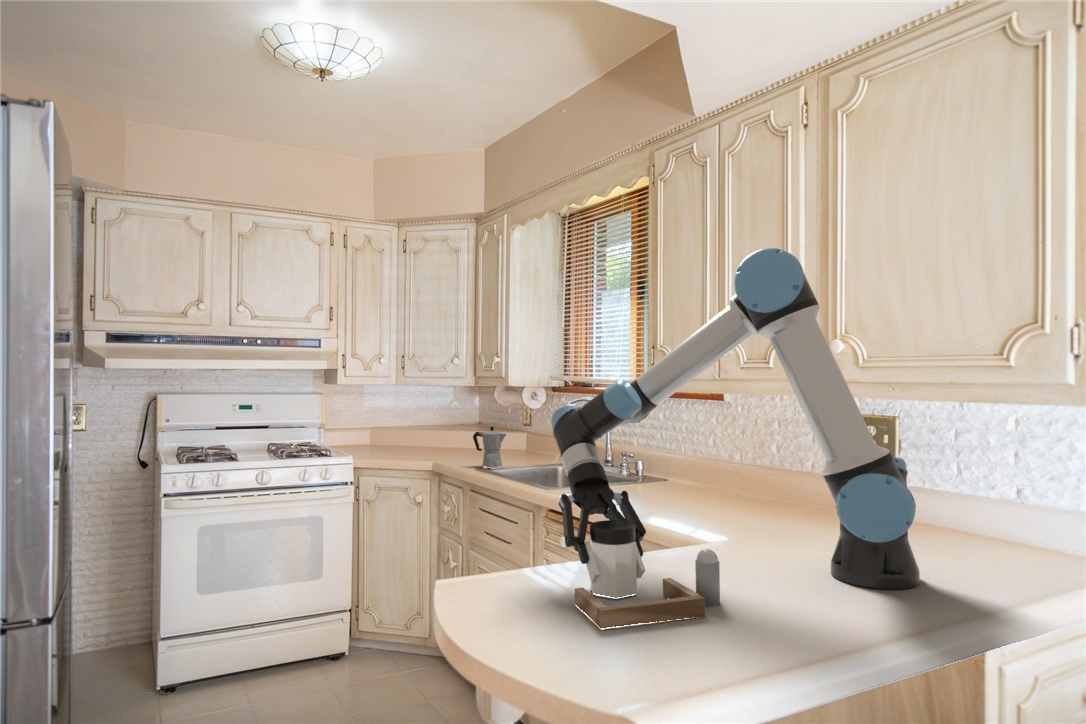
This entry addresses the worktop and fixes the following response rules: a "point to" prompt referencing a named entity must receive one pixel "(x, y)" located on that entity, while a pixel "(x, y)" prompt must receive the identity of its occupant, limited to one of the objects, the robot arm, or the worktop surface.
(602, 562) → the jar
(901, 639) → the worktop surface
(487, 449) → the coffeepot
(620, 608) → the dock
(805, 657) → the worktop surface
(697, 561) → the shaker
